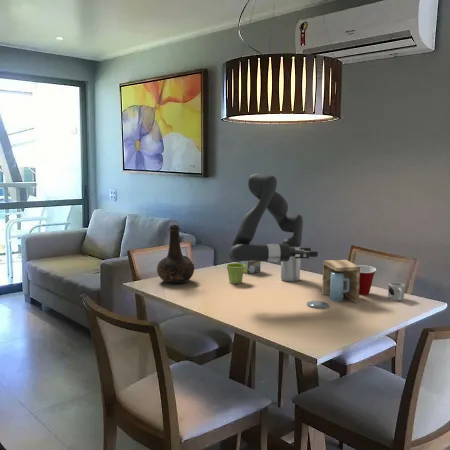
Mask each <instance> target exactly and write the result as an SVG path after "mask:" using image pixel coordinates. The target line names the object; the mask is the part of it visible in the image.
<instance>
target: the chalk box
mask: <svg viewBox="0 0 450 450" xmlns="http://www.w3.org/2000/svg"><path fill="white" fill-rule="evenodd" d="M250 245H255V244H254V243H250ZM261 262H262V261H241V262H237V263H240V264H244V265H245V267H244V271H243V274H247V275H248V274H255V273H260V272H261Z"/></svg>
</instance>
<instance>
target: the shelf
mask: <svg viewBox="0 0 450 450" xmlns="http://www.w3.org/2000/svg"><path fill="white" fill-rule="evenodd" d="M322 262H323V264H322V285H321V286H322V287H321V288H322V289H321V290H322V292H321V294H322V295H330V280H331V272H334V271H337V272H343V273H344V278H349V279H350V282H349V291H348V292H343V296H344V295H345V296H346V297H348V298H349V299H350V300H352V301H353V302H355V303H359V296H360V295H359V281H360V267H359V265H357V264H355V263H353V262H351V261H349V260H347V259H332V260H331V259H330V260H329V259H328V260H327V259H326V260H323V261H322ZM343 289H346V281H344V286H343Z"/></svg>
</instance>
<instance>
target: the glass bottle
mask: <svg viewBox="0 0 450 450" xmlns="http://www.w3.org/2000/svg"><path fill="white" fill-rule="evenodd" d="M167 231H169V244H168V253H167V255H166V257H164V258H162V259H161V260H159V262H158V264H157V266H156V273H157V274H158V277H159V278H160V279H161V280H162V281H163V282H165V283H167V284H172V285H173V284H175V285H177V284H184V283H186V282H188V281H189V280H190V279H191V278H192V277H193V275H194V273H195V267H194V264H193V262H192V260H191V259H190V258H189V257H188V256H186V255H183V253H182V248H181V242H180V231H181V228H180V226H179V225H178V224H170V225H169V228H168V230H167Z"/></svg>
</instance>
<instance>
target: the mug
mask: <svg viewBox="0 0 450 450" xmlns="http://www.w3.org/2000/svg"><path fill="white" fill-rule="evenodd" d="M405 287H406V285H405V284H404V283H403V282H398V281H396V282H394V281H393V282H389V283H388V293H387V295H388V296H387V299H388V300H390V301H394V302H402V301H404V300H405V289H406V288H405Z"/></svg>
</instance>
